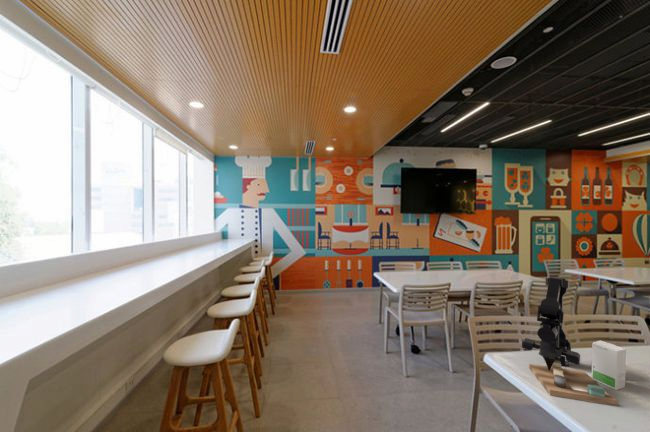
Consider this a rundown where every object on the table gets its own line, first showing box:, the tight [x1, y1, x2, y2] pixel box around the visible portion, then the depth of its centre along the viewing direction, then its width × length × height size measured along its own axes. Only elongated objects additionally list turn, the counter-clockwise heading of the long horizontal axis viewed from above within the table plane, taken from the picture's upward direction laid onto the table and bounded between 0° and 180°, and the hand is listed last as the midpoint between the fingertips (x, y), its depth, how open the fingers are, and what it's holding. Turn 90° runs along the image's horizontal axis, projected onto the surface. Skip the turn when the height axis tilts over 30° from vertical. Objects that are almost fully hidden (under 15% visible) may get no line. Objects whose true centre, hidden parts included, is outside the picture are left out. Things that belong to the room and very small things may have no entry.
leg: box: [552, 361, 566, 388], centre depth 113 cm, size 18×4×3 cm, turn 144°
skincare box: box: [590, 339, 627, 391], centre depth 112 cm, size 8×7×16 cm
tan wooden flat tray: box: [528, 363, 618, 407], centre depth 111 cm, size 20×20×5 cm
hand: (549, 370), depth 117 cm, fingers closed
